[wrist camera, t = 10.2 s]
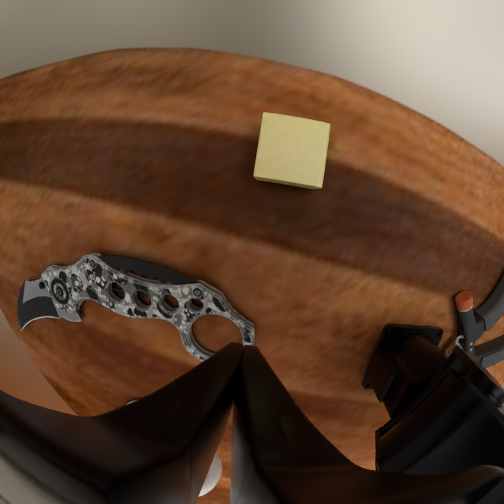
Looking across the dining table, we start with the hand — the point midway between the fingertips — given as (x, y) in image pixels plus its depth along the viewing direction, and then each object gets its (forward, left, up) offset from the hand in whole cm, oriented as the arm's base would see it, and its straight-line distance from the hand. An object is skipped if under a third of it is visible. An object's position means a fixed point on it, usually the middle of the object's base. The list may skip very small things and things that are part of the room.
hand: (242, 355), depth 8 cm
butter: (-1, -8, -11) cm, 14 cm away
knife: (+14, +6, -11) cm, 19 cm away
